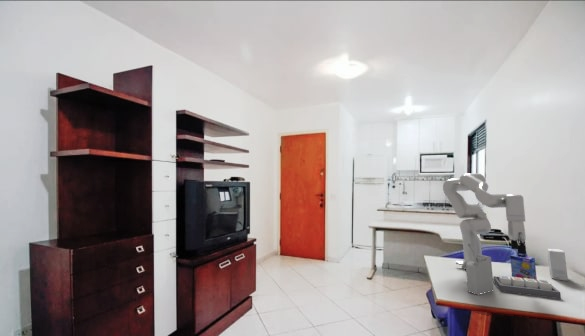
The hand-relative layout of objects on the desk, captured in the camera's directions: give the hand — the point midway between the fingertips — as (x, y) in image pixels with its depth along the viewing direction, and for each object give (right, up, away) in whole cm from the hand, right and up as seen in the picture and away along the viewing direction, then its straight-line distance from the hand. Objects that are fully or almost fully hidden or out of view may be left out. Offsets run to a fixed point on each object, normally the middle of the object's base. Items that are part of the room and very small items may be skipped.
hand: (518, 251), depth 137 cm
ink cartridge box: (+14, -20, +13) cm, 28 cm away
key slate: (-6, -17, +1) cm, 18 cm away
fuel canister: (-23, -20, -4) cm, 31 cm away
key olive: (+3, -17, -4) cm, 17 cm away
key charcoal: (+8, -16, -6) cm, 19 cm away
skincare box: (+33, -19, +12) cm, 39 cm away
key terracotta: (-2, -17, -1) cm, 17 cm away
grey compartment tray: (+1, -19, -3) cm, 19 cm away
